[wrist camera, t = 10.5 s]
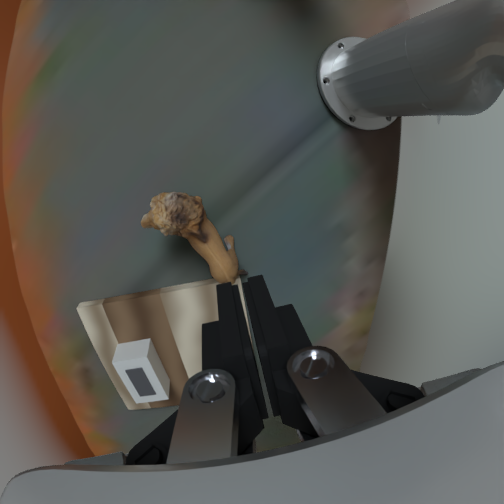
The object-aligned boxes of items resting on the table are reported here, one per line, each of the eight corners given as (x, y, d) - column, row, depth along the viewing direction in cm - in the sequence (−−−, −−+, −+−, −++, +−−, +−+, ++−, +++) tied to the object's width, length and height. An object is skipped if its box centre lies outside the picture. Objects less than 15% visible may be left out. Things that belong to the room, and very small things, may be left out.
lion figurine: (144, 204, 33) (127, 225, 25) (176, 171, 33) (168, 180, 24) (232, 285, 39) (242, 324, 30) (263, 256, 38) (281, 289, 30)
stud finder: (150, 338, 38) (146, 358, 34) (169, 380, 40) (168, 400, 37) (117, 344, 37) (111, 363, 33) (139, 384, 40) (136, 404, 36)
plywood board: (238, 273, 38) (240, 278, 37) (259, 384, 45) (261, 390, 44) (79, 302, 36) (76, 308, 34) (130, 403, 43) (129, 409, 42)
